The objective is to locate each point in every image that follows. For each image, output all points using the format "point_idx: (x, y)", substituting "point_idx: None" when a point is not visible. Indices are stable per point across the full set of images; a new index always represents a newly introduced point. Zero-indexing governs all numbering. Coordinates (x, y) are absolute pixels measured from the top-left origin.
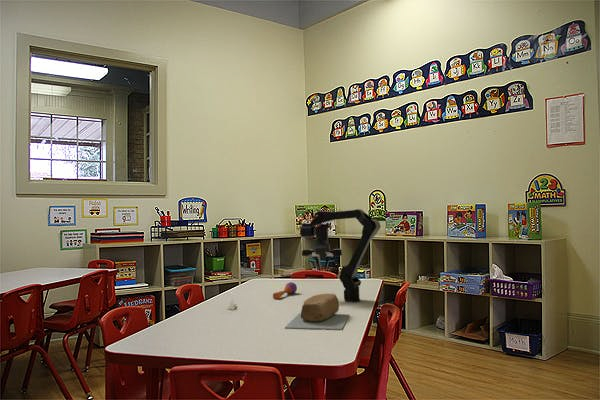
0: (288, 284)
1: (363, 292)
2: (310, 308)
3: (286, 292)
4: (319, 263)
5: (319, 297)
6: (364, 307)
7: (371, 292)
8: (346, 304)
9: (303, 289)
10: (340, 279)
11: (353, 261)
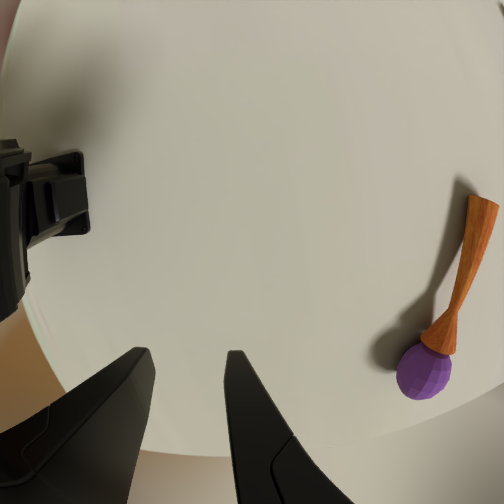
0: (446, 367)
1: None
2: None
3: (443, 313)
4: (233, 460)
5: None
6: (18, 53)
7: None
8: (71, 79)
9: (355, 434)
10: (12, 184)
11: None
